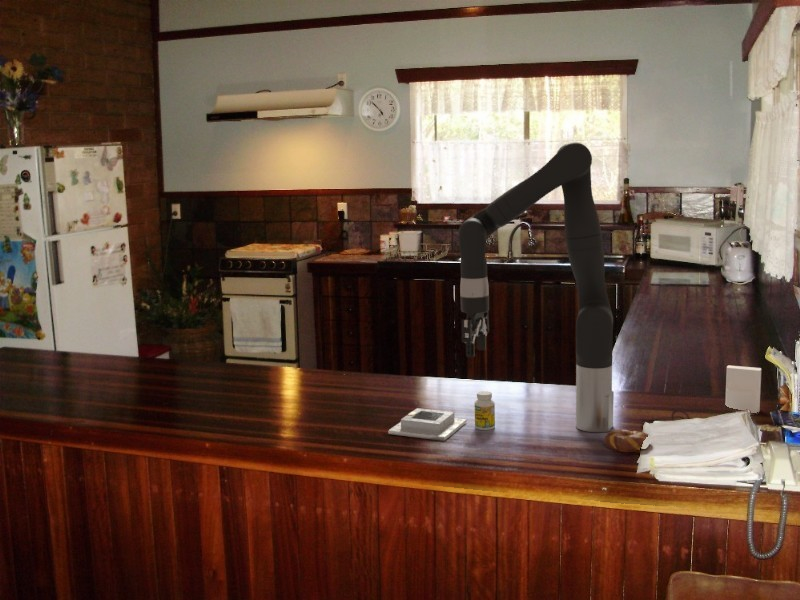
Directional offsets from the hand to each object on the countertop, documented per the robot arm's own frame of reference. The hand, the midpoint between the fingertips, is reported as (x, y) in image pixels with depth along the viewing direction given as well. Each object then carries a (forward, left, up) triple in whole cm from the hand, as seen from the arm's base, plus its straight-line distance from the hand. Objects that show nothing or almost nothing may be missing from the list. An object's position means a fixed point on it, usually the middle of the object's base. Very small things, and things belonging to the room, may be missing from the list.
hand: (476, 353), depth 240 cm
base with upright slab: (-65, -38, -20) cm, 78 cm away
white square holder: (+11, +8, -20) cm, 24 cm away
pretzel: (-41, +3, -20) cm, 46 cm away
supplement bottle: (-3, +2, -20) cm, 20 cm away
